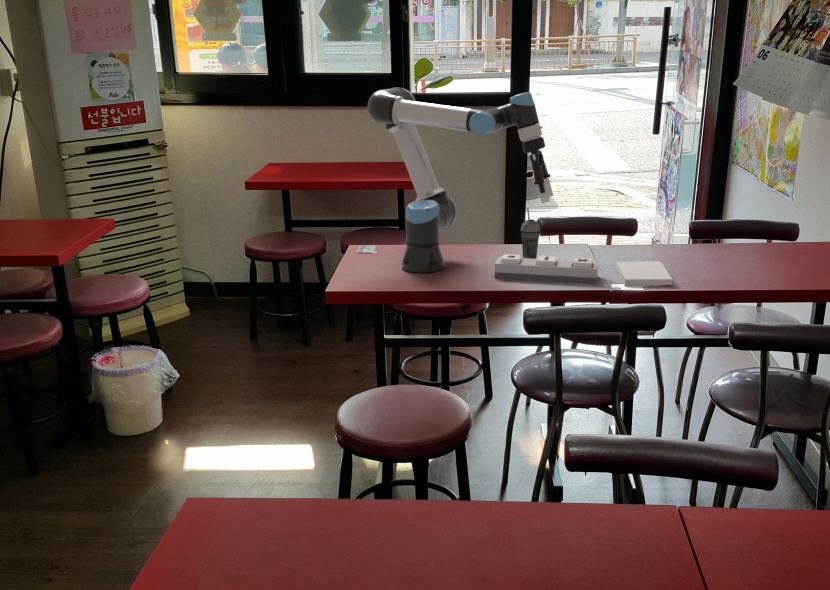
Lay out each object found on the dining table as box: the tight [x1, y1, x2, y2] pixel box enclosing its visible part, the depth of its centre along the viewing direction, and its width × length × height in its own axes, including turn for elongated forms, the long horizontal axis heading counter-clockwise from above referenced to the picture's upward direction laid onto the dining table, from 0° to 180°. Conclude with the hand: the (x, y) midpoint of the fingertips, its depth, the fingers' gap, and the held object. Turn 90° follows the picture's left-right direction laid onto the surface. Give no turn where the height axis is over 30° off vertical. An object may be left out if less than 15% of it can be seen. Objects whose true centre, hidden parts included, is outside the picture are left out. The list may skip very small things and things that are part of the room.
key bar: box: [536, 255, 557, 266], centre depth 274 cm, size 6×6×3 cm
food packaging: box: [615, 260, 674, 288], centre depth 273 cm, size 15×3×20 cm
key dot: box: [501, 253, 522, 264], centre depth 277 cm, size 6×6×3 cm
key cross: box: [572, 257, 593, 268], centre depth 271 cm, size 6×6×3 cm
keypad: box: [493, 256, 599, 284], centre depth 275 cm, size 34×9×5 cm, turn 75°
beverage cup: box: [519, 207, 542, 259], centre depth 292 cm, size 7×7×20 cm
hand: (547, 199), depth 278 cm, fingers open, 13 cm apart
